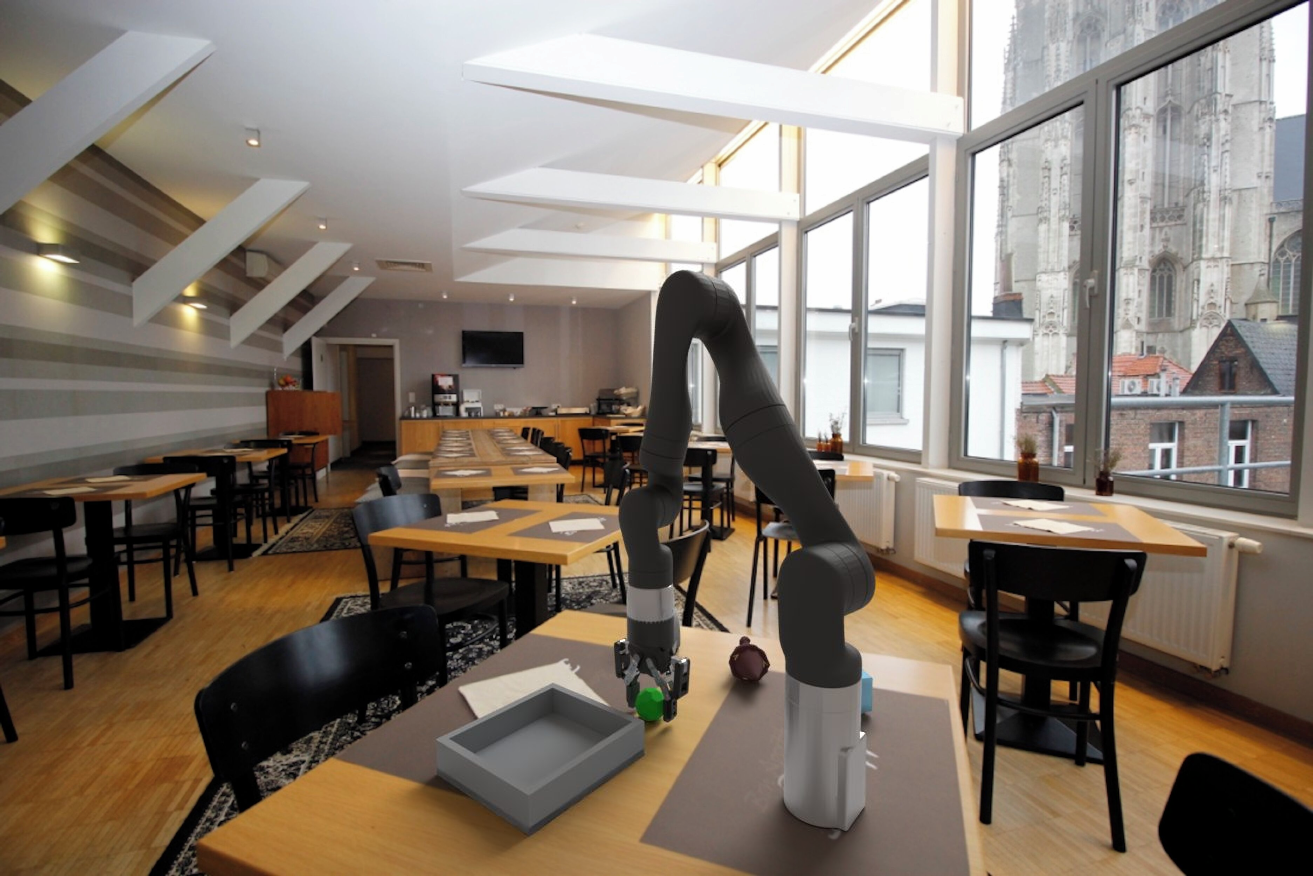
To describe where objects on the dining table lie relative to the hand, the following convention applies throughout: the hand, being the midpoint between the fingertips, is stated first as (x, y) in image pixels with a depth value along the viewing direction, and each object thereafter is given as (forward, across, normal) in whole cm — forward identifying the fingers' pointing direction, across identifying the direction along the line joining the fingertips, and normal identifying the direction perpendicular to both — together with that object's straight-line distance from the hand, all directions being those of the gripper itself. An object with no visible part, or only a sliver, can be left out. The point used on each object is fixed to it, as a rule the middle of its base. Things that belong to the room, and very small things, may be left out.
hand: (651, 712), depth 101 cm
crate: (+1, +4, +19) cm, 19 cm away
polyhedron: (+1, 0, 0) cm, 1 cm away
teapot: (+1, -22, -23) cm, 32 cm away
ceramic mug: (+1, +15, -22) cm, 27 cm away
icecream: (+1, -5, -21) cm, 22 cm away
